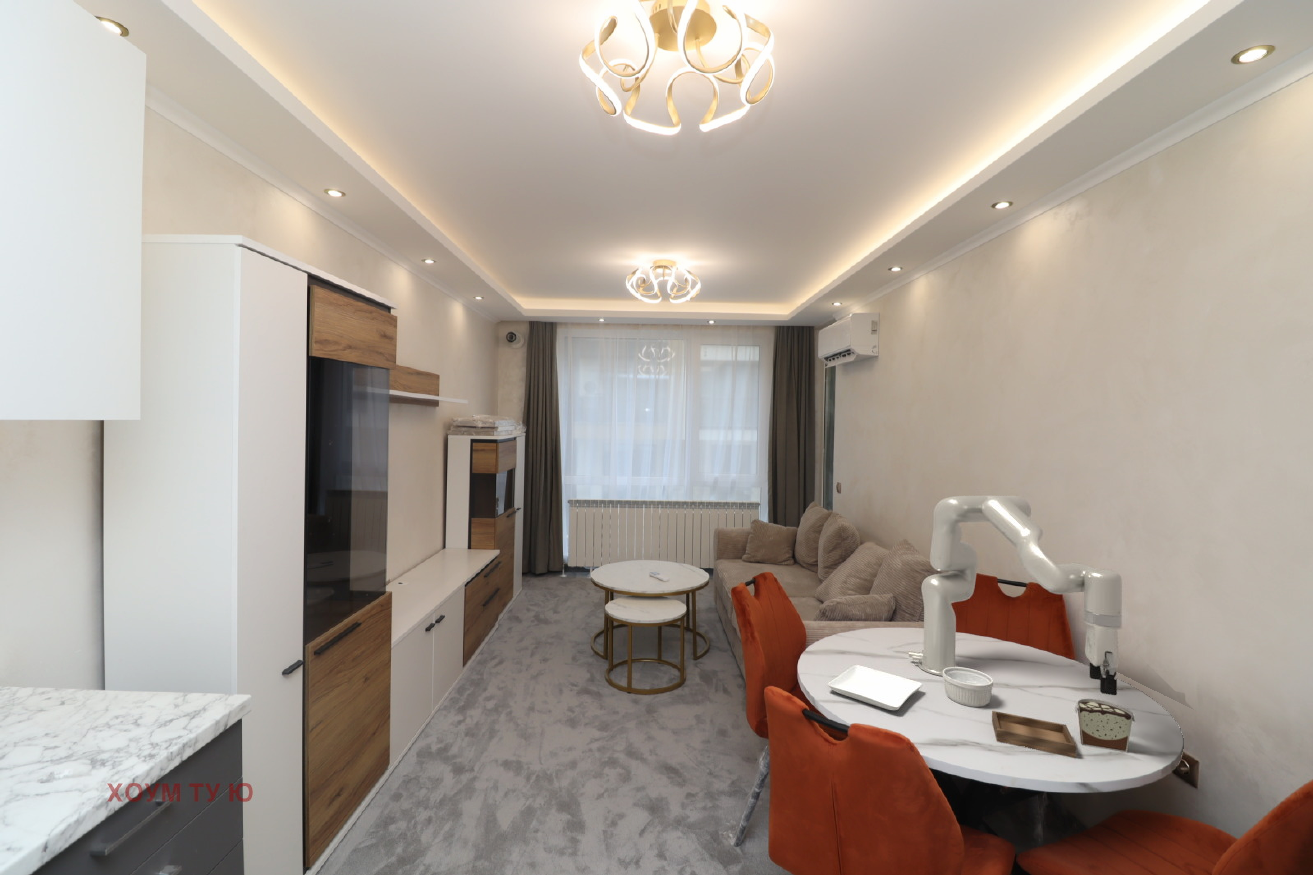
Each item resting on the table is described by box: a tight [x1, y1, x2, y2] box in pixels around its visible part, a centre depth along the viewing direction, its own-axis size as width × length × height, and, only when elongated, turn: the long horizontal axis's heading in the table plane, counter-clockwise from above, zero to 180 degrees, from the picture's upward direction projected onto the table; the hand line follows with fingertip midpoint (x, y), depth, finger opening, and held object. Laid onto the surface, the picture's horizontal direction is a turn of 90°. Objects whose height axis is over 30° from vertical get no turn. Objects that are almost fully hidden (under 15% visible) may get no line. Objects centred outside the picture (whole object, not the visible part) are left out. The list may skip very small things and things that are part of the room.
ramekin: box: [942, 666, 994, 708], centre depth 168 cm, size 13×13×7 cm
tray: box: [991, 710, 1077, 759], centre depth 145 cm, size 17×11×3 cm
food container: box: [1074, 698, 1136, 753], centre depth 144 cm, size 12×6×10 cm, turn 71°
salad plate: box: [827, 664, 923, 711], centre depth 170 cm, size 21×21×3 cm
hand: (1102, 686), depth 144 cm, fingers open, 9 cm apart
